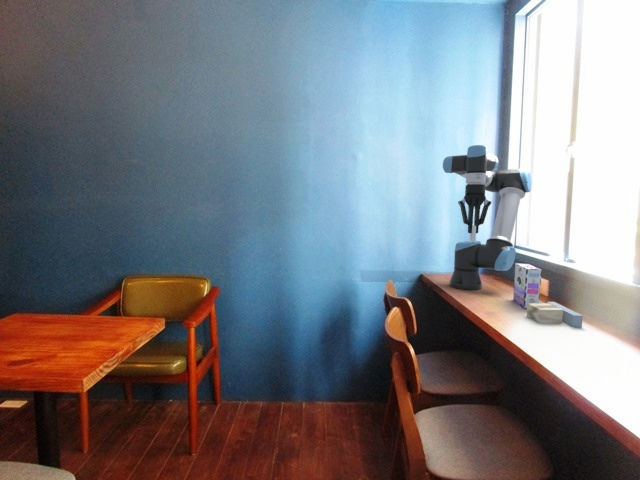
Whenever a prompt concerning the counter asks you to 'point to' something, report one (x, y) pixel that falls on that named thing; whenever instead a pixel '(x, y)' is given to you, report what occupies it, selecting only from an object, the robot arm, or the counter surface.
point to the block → (544, 313)
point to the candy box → (527, 284)
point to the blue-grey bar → (569, 315)
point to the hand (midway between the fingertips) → (472, 241)
